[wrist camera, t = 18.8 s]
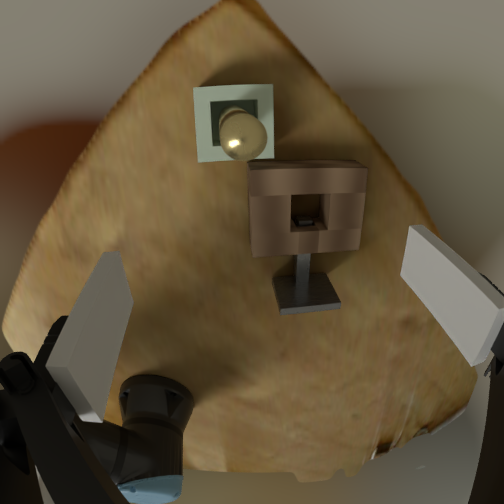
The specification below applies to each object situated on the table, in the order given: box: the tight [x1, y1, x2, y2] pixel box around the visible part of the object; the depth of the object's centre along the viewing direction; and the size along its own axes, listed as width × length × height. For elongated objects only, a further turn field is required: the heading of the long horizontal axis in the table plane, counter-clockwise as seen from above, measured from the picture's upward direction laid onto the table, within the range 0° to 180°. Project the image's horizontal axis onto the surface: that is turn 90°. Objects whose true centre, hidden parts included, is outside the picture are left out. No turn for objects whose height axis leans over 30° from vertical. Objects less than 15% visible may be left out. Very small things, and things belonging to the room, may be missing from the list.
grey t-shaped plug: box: [272, 215, 341, 315], centre depth 41 cm, size 8×10×7 cm
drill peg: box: [219, 105, 268, 161], centre depth 28 cm, size 3×3×16 cm
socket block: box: [247, 160, 368, 258], centre depth 40 cm, size 14×11×4 cm
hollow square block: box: [193, 84, 274, 162], centre depth 33 cm, size 8×8×5 cm
